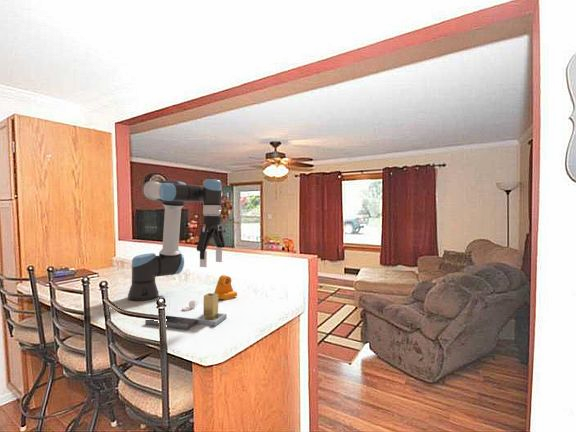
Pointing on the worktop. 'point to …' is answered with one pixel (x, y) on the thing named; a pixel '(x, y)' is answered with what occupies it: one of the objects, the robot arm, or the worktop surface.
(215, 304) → the tan rectangular block
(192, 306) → the teacup and saucer
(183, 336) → the worktop surface
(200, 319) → the tray
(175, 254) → the robot arm
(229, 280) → the bracket
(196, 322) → the dark grey shallow tray
